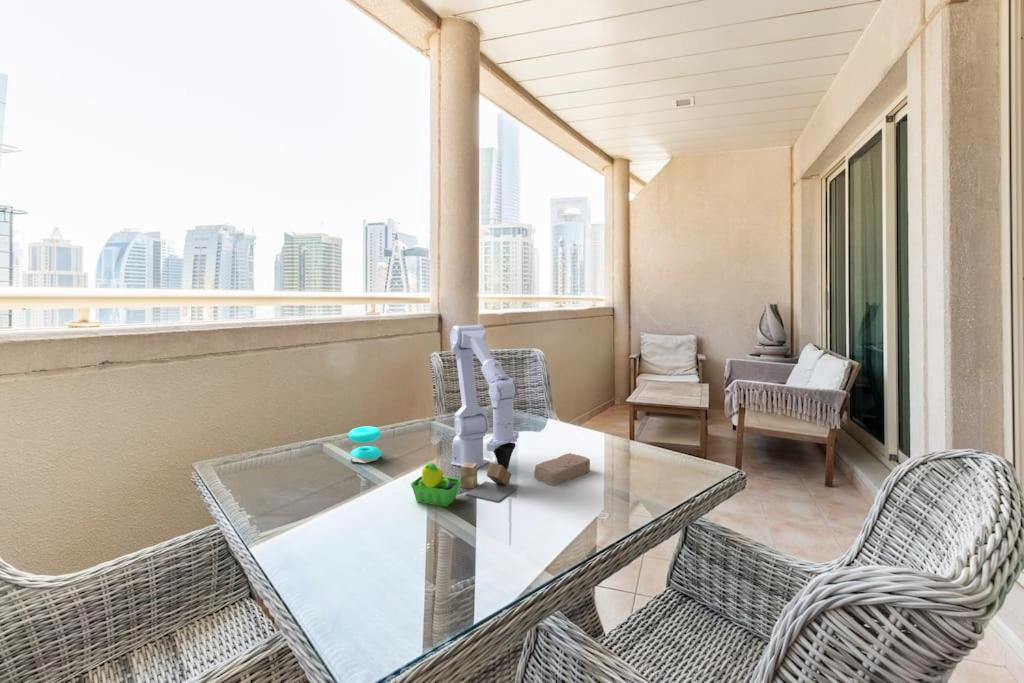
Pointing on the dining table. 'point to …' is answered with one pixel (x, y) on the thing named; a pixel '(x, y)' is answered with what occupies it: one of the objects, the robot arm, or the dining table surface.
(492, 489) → the mat
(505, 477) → the walnut block
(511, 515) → the dining table surface
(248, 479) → the dining table surface
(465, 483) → the oak block
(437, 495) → the fruit basket
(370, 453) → the donuts
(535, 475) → the brick
